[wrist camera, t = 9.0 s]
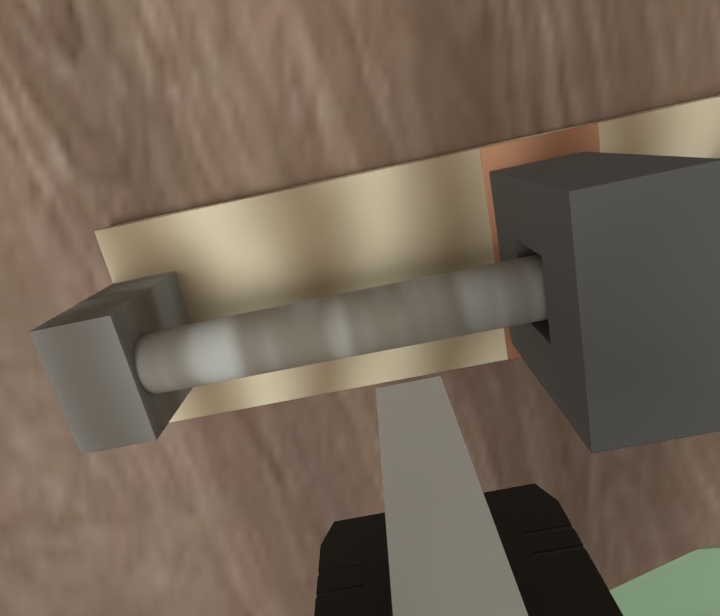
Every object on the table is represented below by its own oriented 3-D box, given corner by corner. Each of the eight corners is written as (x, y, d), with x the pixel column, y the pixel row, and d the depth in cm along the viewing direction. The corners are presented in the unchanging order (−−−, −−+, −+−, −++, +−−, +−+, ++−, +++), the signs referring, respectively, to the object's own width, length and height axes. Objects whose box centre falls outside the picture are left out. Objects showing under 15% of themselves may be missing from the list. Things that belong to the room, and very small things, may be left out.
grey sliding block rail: (174, 409, 28) (103, 508, 21) (109, 226, 25) (-1, 263, 18) (752, 300, 26) (911, 366, 18) (755, 87, 23) (947, 61, 16)
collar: (511, 342, 25) (591, 453, 16) (489, 171, 22) (568, 191, 14) (597, 326, 25) (726, 429, 16) (583, 151, 22) (726, 159, 13)
